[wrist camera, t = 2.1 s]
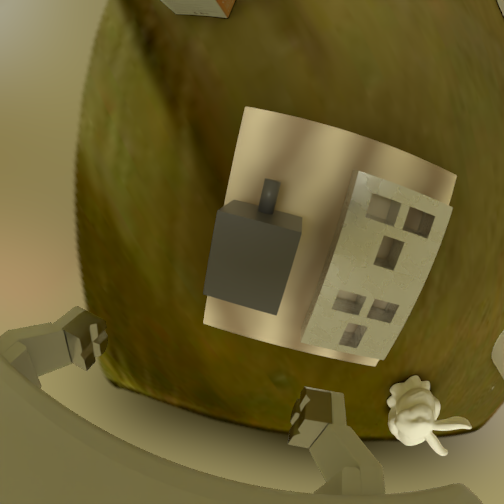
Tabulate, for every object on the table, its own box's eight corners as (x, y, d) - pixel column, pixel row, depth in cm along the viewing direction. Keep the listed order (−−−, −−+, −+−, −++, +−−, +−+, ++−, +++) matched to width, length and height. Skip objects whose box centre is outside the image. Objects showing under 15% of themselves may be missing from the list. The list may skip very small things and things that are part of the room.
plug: (309, 185, 23) (311, 196, 17) (283, 278, 26) (276, 315, 20) (245, 169, 23) (224, 174, 17) (225, 262, 26) (202, 294, 20)
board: (447, 173, 21) (456, 175, 20) (372, 355, 29) (375, 366, 28) (249, 110, 23) (245, 106, 21) (208, 313, 31) (203, 323, 29)
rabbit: (381, 376, 30) (397, 452, 19) (446, 353, 28) (478, 420, 17) (385, 424, 33) (394, 486, 22) (440, 405, 31) (458, 464, 20)
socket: (440, 202, 21) (453, 207, 18) (379, 345, 27) (383, 360, 24) (353, 169, 22) (358, 170, 19) (301, 327, 27) (300, 342, 25)
